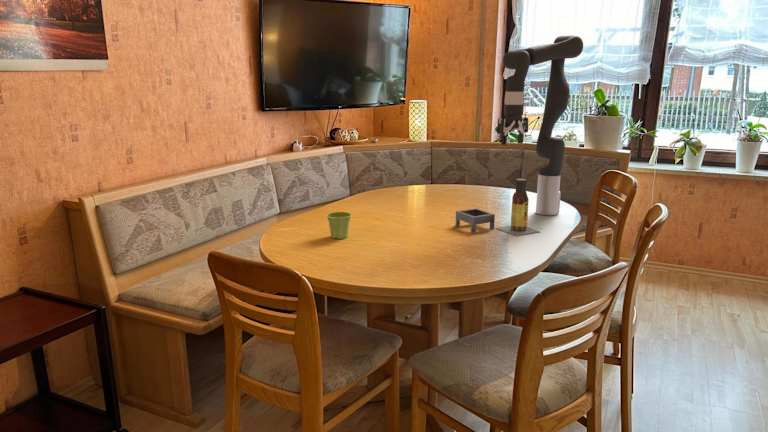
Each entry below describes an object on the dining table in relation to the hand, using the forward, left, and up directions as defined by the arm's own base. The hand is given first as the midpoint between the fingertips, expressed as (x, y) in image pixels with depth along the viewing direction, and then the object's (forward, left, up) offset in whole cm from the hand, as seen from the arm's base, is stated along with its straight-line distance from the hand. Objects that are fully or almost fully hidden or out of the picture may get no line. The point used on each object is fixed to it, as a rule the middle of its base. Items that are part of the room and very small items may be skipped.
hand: (511, 144), depth 232 cm
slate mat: (+6, +13, -32) cm, 35 cm away
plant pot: (+71, -13, -32) cm, 79 cm away
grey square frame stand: (+18, +1, -32) cm, 37 cm away
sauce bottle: (+6, +13, -32) cm, 35 cm away
